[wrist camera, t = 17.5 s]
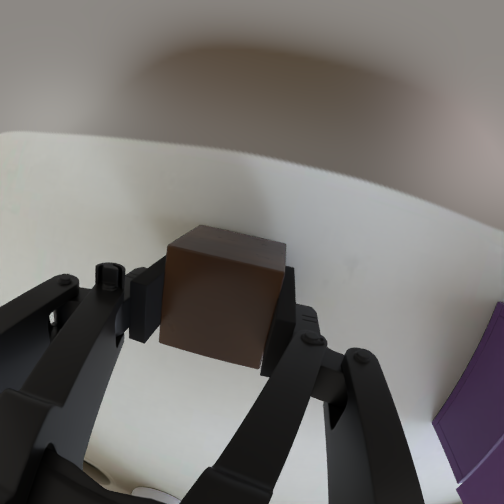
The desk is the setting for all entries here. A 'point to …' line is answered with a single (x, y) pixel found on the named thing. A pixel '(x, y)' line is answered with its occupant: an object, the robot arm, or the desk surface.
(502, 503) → the purple hinged box lid
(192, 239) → the block
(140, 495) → the mug
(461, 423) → the purple box
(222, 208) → the desk surface
